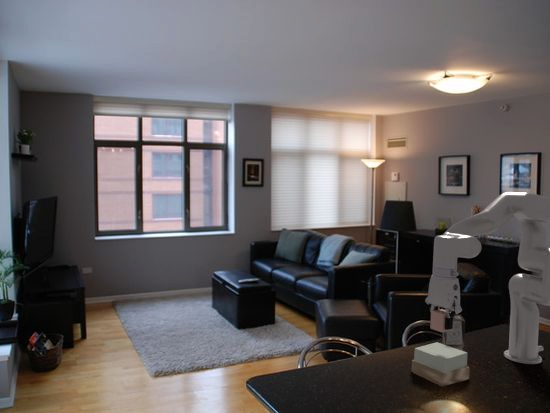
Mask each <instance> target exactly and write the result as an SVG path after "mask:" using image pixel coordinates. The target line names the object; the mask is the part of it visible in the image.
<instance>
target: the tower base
mask: <svg viewBox="0 0 550 413" xmlns="http://www.w3.org/2000/svg"><path fill="white" fill-rule="evenodd" d="M470 369H471V368H470V366H469V365H467V366H465V367H462V368H459V369H456V370H453V371H450V372H447V373H442V372H440V371H437V370H435V369H432V368H430V367H427V366H425V365H422V364H420V363H417V362H415V361H414V359H412V360H411V373H412V372H413V374H415V375H416V376H418V377H421V378H424V379H425V380H427V381H430V382H431V383H433V384H435V385H437V384H438V385H437V386H440V387H445V386H449V385H451V384H452V385H453V384H456V383H460V382H464V381H467V380H470Z"/></svg>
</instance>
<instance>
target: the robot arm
mask: <svg viewBox="0 0 550 413" xmlns="http://www.w3.org/2000/svg"><path fill="white" fill-rule="evenodd" d="M512 218H515V219H516V220H517V222H518V224H519V226H520V228H521V236H520V241H519V242H520V243H519V249H518V256H517V263H518V266H519V268H521V269H523V270H524V271H529V272H534V273H540V274H542V276H537V275H533V274H527V273H516V274H514V275H513V276H512V277H511V278H510V279H509V282H508V290H509V292H508V293H509V298H510V315H509V337H508V338H509V339H508V349H506V350H505V351H503V356H504V357H505V358H506V359H507V360H510V361H513V362H515V363H518V364H519V363H520V364H524V365H537V364H541V363H542V362H543V358H542V357H541V355H539V353H540V352H542V351H544V346H542V345H539V330H540V329H539V328H540V326H539V325H540V310H539V306H538V305H539V304H540V305H543V306H548V307H550V247H547V244H548V243H547V242H548V235H549V234H548V230H547V228H546V226H545V224H544V223H550V197H548V196H544V195H540V194H536V193H532V192H521V191H520V192H519V191H517V192H516V191H507V192H506V191H505V192H503V193H500V194H499V195H498V196H497V197H496V198H495V199H494V200H492V201H491V202H490V203H489V204H488V205H487V206H486V207H485V208H483V210H482V211H480V212H479V213H476V214H474V215H471V216H469V217H467V218H464V219H462V220H459V221H458V222H455V223H454V224H453V225H451V226H450V227H449V228H447V230H446V231H445V232H444V233H442V234H441V235H436V236H435V237H434V241H433V256H432V259H433V260H432V274H431V277H430V279H429V284H428V293H427V297H426V298H425V300H424V302H425V303H426V304H427V307H428V308H429V312H430V313H431V311H432V310H440V308H441V309H444V310H446V316H447V317H446V318H445V330H449V329H452V328H453V317H455V316H456V315H459V313H461V312H462V311H463V308H462V306H461V289H460V288H461V287H460V282H459V280H460V279H459V278H457V277H458V276H459V275H460V274H459V271H458V258H463V259H464V258H465V259H472V258H473V259H474V258H475V257H477V256H478V255H479V254H480V253H481V251H482V244H481V241H480V240H479V239H478V238H477V236H485V235H486V236H487V235H490V234H494V233H496V232H498V231H500V230H501V229H502V228H503V227H504V226H505V225H506V224H507V223H508V222H509V221H510V220H511V219H512ZM537 304H538V305H537ZM450 312H451V313H450Z"/></svg>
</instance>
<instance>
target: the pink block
mask: <svg viewBox="0 0 550 413" xmlns="http://www.w3.org/2000/svg"><path fill="white" fill-rule="evenodd" d="M450 313H451V311H450ZM446 317H447V316H446V310H445V309H444V308H441V309H440V308H439V310H432V311H431V312H430V326H429V327H430V328H429V329H431V330H434V331H437V332H438V333H439V332H440V333H443V332H448V331H453V328H452V329H449V330H445V318H446Z"/></svg>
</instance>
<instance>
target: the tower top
mask: <svg viewBox="0 0 550 413" xmlns="http://www.w3.org/2000/svg"><path fill="white" fill-rule="evenodd" d="M413 352H414V354H413V356H414V357H413V360H414V361H415V362H417V363H420V364H422V365H425V366H427V367H430V368H432V369H435V370H437V371H440V372H442V373H447V372H450V371H453V370H456V369H459V368H462V367H465V366H468V352H466V351H465V350H464V351H461V350H458V349H455V348H452V347H450V346H447V345H444V344H442V343H441V342H434V343H433V342H432V343H429V344H425V345H421V346H418V347H414V351H413Z"/></svg>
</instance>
